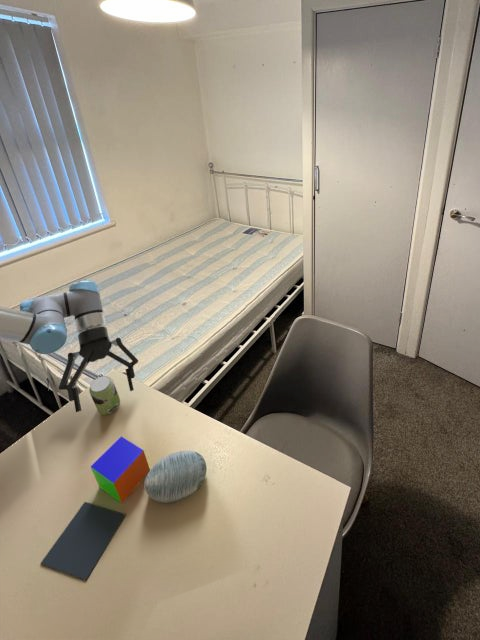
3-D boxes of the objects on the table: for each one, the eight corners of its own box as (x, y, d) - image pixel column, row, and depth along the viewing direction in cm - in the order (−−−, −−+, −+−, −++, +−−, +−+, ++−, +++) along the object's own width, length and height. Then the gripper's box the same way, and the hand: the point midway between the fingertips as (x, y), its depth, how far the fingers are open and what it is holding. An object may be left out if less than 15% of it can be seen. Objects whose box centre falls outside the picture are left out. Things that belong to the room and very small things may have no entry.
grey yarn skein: (210, 445, 83) (195, 442, 75) (214, 490, 78) (197, 492, 69) (159, 461, 83) (138, 460, 75) (159, 507, 77) (136, 512, 69)
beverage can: (117, 395, 101) (107, 367, 96) (125, 410, 96) (115, 381, 91) (95, 407, 97) (83, 379, 92) (102, 424, 92) (90, 394, 87)
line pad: (40, 564, 65) (40, 563, 65) (85, 502, 74) (84, 501, 74) (86, 580, 62) (85, 580, 62) (126, 515, 72) (125, 514, 72)
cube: (128, 456, 84) (121, 436, 81) (150, 470, 81) (143, 450, 77) (99, 486, 77) (90, 466, 74) (121, 503, 74) (113, 483, 71)
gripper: (137, 318, 107) (152, 382, 102) (46, 346, 96) (58, 419, 90) (135, 314, 101) (151, 382, 95) (37, 343, 90) (49, 422, 84)
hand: (106, 400), depth 93 cm, fingers open, 13 cm apart
